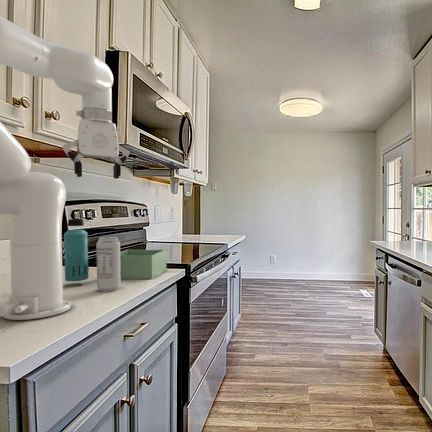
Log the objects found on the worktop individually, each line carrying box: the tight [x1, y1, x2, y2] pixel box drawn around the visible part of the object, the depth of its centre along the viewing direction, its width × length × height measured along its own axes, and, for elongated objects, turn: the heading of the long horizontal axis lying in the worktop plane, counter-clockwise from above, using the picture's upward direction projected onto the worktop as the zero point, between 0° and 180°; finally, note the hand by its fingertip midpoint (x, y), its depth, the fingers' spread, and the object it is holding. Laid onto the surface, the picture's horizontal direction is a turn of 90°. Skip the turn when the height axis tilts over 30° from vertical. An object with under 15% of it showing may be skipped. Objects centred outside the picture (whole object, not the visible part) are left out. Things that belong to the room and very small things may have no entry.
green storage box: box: [120, 249, 168, 280], centre depth 124 cm, size 15×14×8 cm
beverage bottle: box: [63, 218, 90, 283], centre depth 108 cm, size 6×7×20 cm
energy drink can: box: [95, 236, 122, 293], centre depth 102 cm, size 6×6×15 cm
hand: (98, 177), depth 103 cm, fingers open, 9 cm apart
